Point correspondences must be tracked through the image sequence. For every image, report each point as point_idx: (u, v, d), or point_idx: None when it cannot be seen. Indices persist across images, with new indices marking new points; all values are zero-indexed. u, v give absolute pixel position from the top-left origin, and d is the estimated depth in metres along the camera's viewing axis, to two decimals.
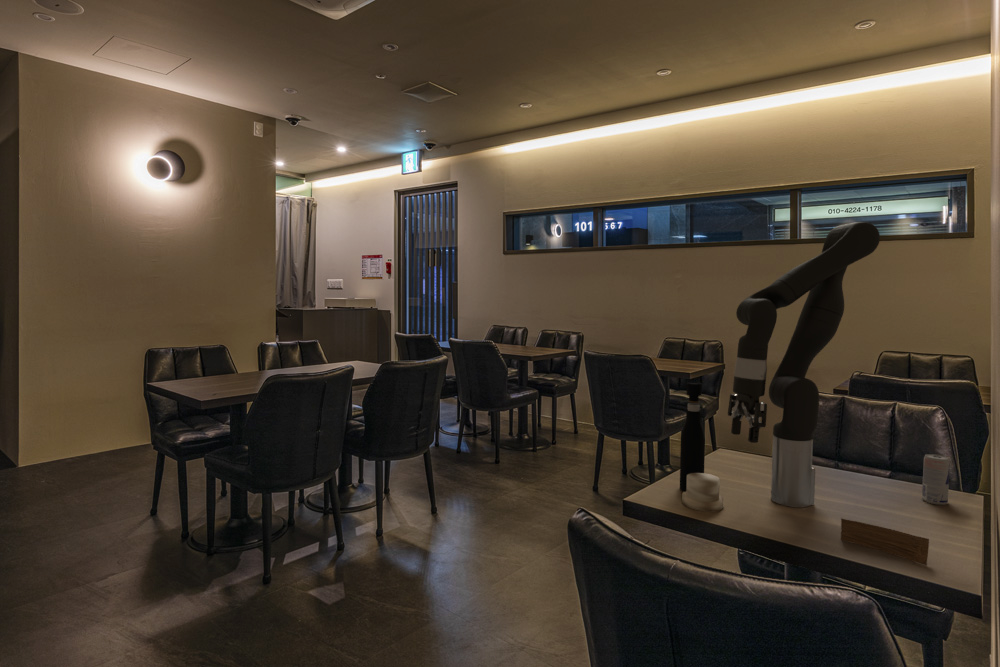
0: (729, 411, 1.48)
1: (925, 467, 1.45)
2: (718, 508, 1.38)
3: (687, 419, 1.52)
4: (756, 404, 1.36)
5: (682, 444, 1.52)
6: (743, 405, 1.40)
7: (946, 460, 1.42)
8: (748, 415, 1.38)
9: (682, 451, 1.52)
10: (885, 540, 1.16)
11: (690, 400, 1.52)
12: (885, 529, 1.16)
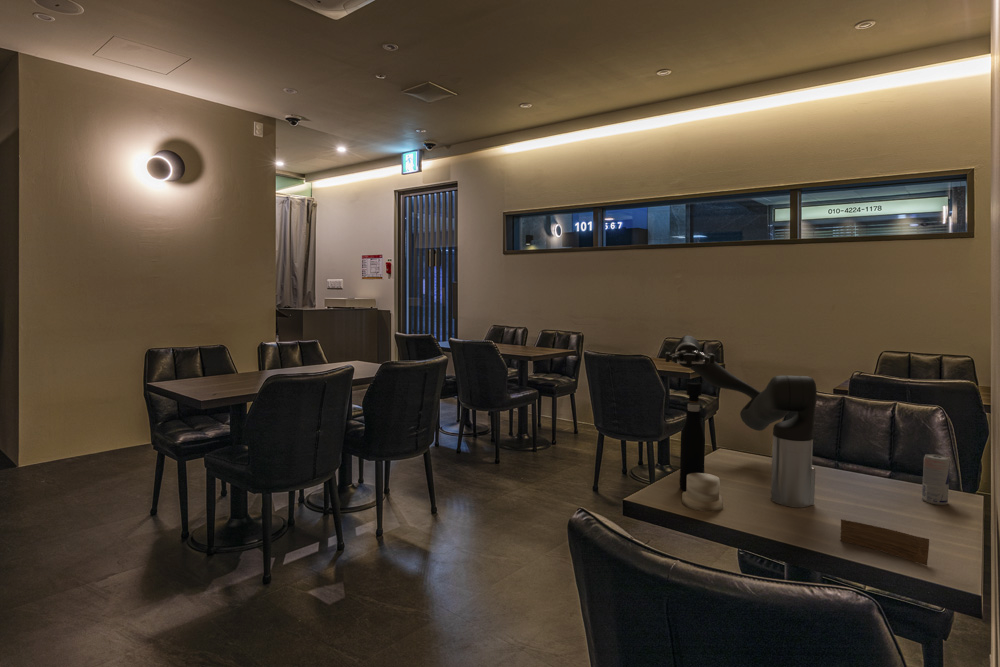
0: (668, 353, 1.70)
1: (925, 467, 1.45)
2: (718, 508, 1.38)
3: (687, 419, 1.52)
4: (710, 353, 1.70)
5: (682, 444, 1.52)
6: (694, 351, 1.71)
7: (946, 460, 1.42)
8: None
9: (682, 451, 1.52)
10: (885, 540, 1.16)
11: (690, 400, 1.52)
12: (885, 529, 1.16)
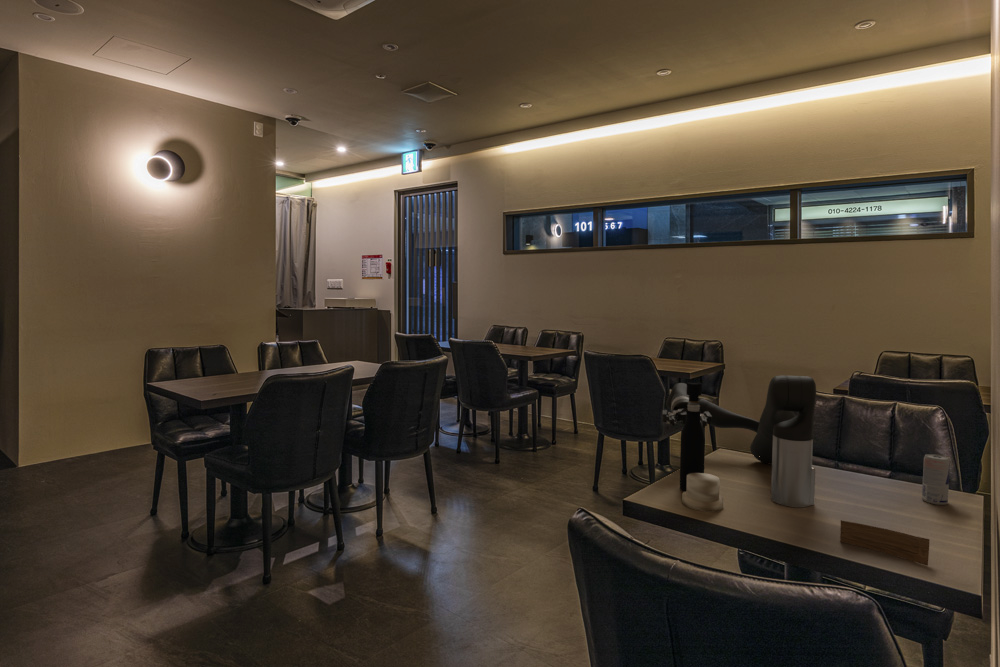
0: (665, 413, 1.69)
1: (925, 467, 1.45)
2: (718, 508, 1.38)
3: (687, 419, 1.52)
4: (707, 411, 1.70)
5: (682, 444, 1.52)
6: None
7: (946, 460, 1.42)
8: None
9: (682, 451, 1.52)
10: (885, 541, 1.16)
11: (690, 400, 1.52)
12: (885, 530, 1.16)
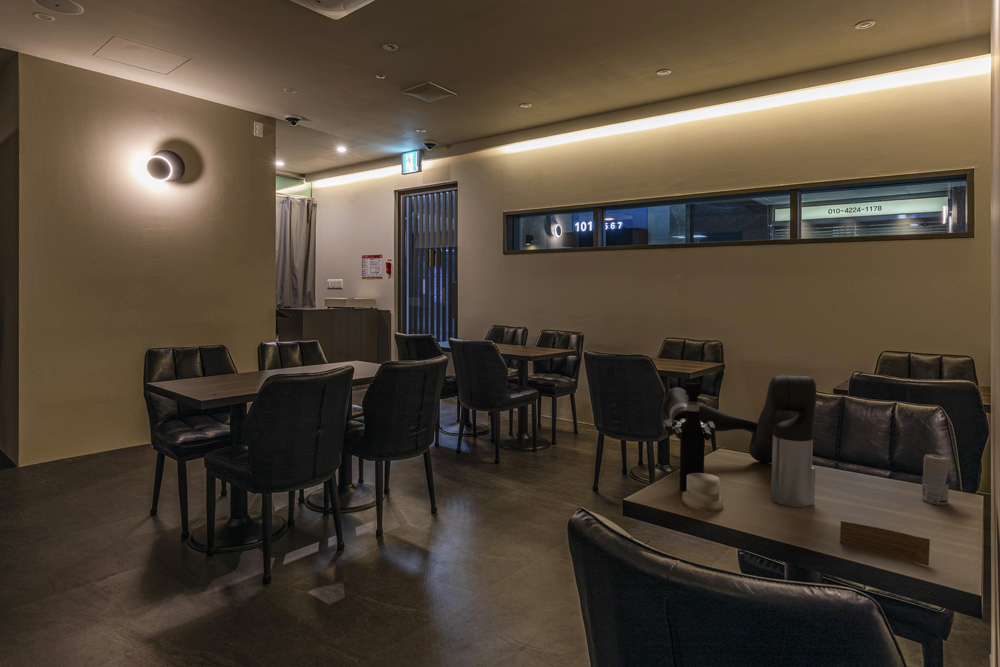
0: (669, 425, 1.55)
1: (925, 467, 1.45)
2: (718, 508, 1.38)
3: (686, 419, 1.52)
4: (711, 421, 1.58)
5: (682, 444, 1.52)
6: None
7: (946, 460, 1.42)
8: None
9: (682, 451, 1.52)
10: (885, 541, 1.15)
11: (689, 400, 1.52)
12: (885, 530, 1.16)
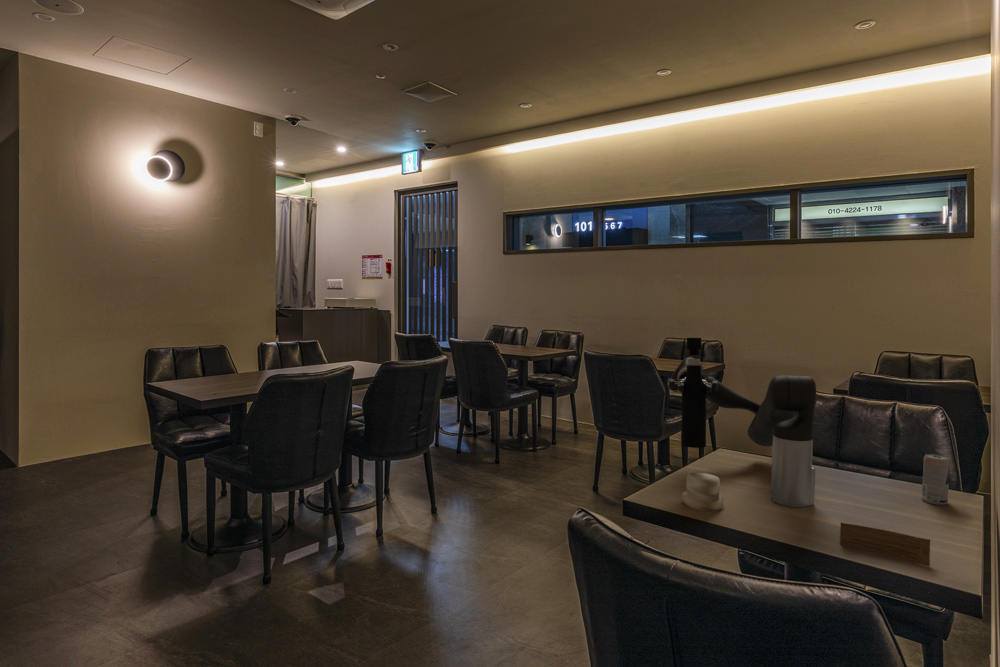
0: (673, 381, 1.56)
1: (925, 467, 1.45)
2: (718, 508, 1.38)
3: (687, 374, 1.53)
4: (715, 380, 1.57)
5: (682, 399, 1.53)
6: None
7: (946, 460, 1.42)
8: None
9: (683, 406, 1.53)
10: (885, 542, 1.15)
11: (690, 354, 1.53)
12: (885, 531, 1.15)
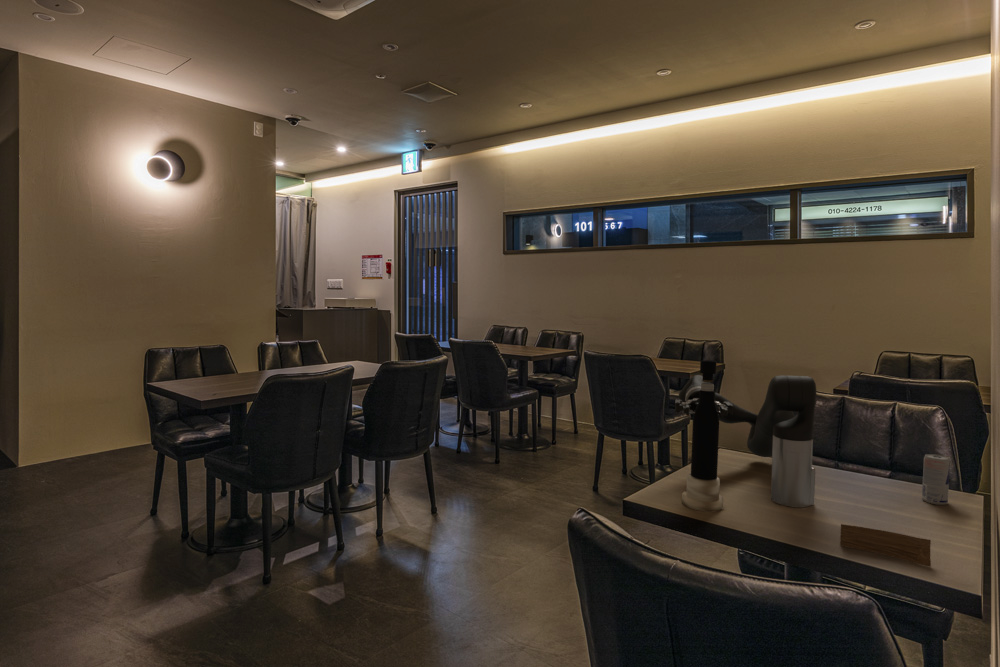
0: (678, 402, 1.47)
1: (925, 467, 1.45)
2: (718, 508, 1.38)
3: (700, 399, 1.42)
4: (727, 401, 1.47)
5: (694, 426, 1.42)
6: None
7: (946, 460, 1.42)
8: None
9: (693, 434, 1.42)
10: (886, 543, 1.15)
11: (703, 379, 1.42)
12: (885, 532, 1.15)
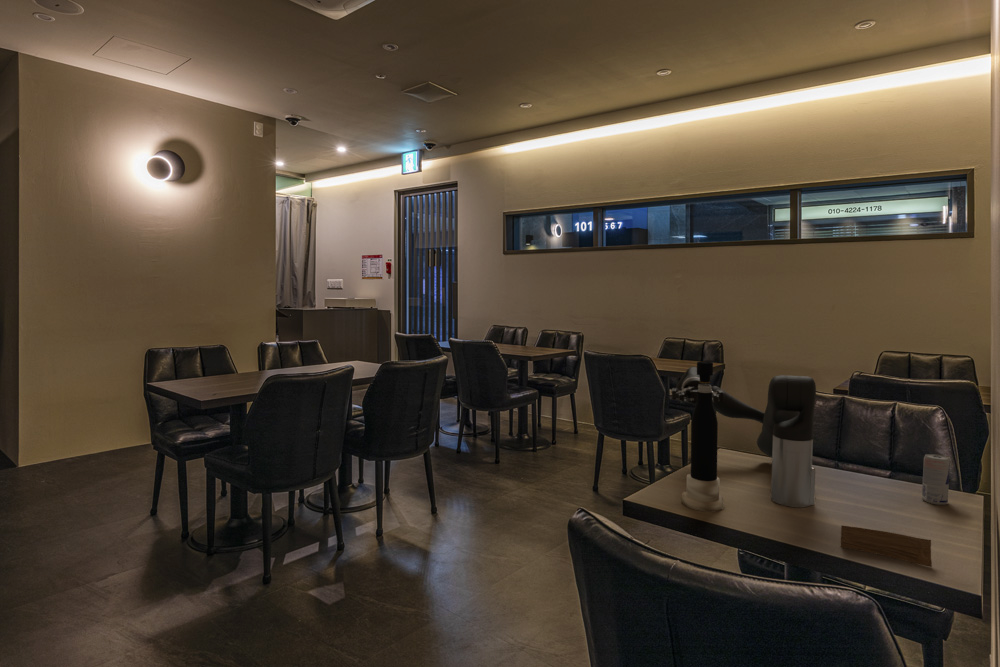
0: None
1: (925, 467, 1.45)
2: (718, 508, 1.38)
3: (697, 401, 1.41)
4: (719, 389, 1.61)
5: (692, 428, 1.41)
6: None
7: (946, 460, 1.42)
8: None
9: (692, 435, 1.41)
10: (886, 544, 1.14)
11: (700, 380, 1.40)
12: (886, 533, 1.14)
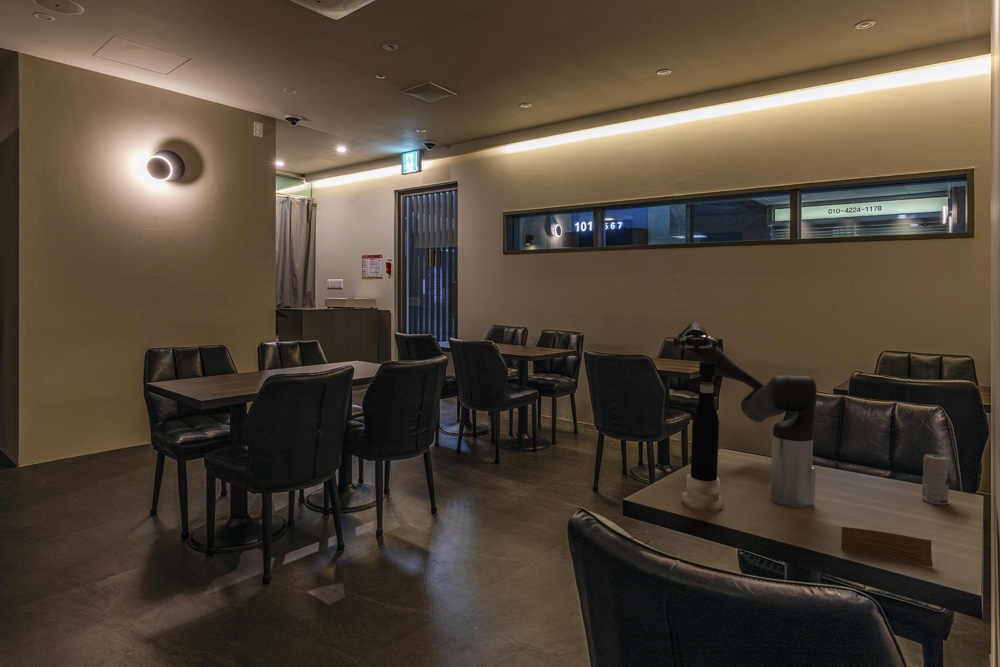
0: (676, 338, 1.70)
1: (925, 467, 1.45)
2: (718, 508, 1.38)
3: (699, 401, 1.41)
4: None
5: (693, 428, 1.41)
6: (702, 335, 1.71)
7: (946, 460, 1.42)
8: None
9: (693, 435, 1.41)
10: (887, 545, 1.14)
11: (703, 381, 1.40)
12: (886, 533, 1.14)
